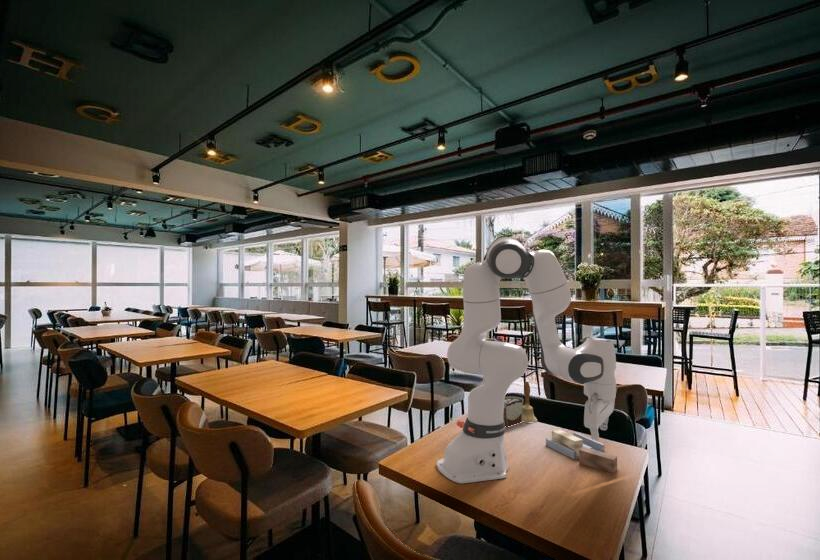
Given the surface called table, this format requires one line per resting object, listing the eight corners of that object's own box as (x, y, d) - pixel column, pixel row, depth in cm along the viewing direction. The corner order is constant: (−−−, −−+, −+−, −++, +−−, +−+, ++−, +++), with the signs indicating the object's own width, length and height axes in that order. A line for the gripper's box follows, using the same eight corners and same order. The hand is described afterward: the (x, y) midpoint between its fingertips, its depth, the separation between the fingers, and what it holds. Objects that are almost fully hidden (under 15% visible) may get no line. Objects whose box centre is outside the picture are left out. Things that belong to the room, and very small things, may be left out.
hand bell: (534, 424, 157) (534, 385, 157) (514, 420, 161) (514, 382, 161) (539, 418, 164) (539, 381, 164) (520, 415, 168) (520, 378, 168)
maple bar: (582, 454, 127) (582, 439, 127) (575, 456, 126) (575, 441, 126) (559, 443, 136) (559, 429, 136) (551, 445, 135) (551, 430, 135)
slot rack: (573, 461, 124) (573, 452, 124) (545, 447, 135) (545, 438, 135) (604, 453, 130) (604, 444, 130) (575, 440, 141) (575, 432, 141)
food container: (511, 417, 164) (511, 394, 164) (523, 422, 159) (523, 397, 160) (492, 424, 157) (492, 399, 157) (504, 428, 152) (505, 403, 152)
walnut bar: (617, 472, 117) (617, 456, 117) (613, 476, 115) (613, 459, 115) (582, 462, 124) (583, 446, 124) (579, 465, 122) (579, 449, 122)
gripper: (601, 400, 109) (601, 448, 109) (618, 384, 125) (618, 426, 125) (578, 396, 113) (578, 442, 114) (597, 380, 129) (597, 422, 129)
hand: (599, 434), depth 119 cm, fingers open, 8 cm apart
